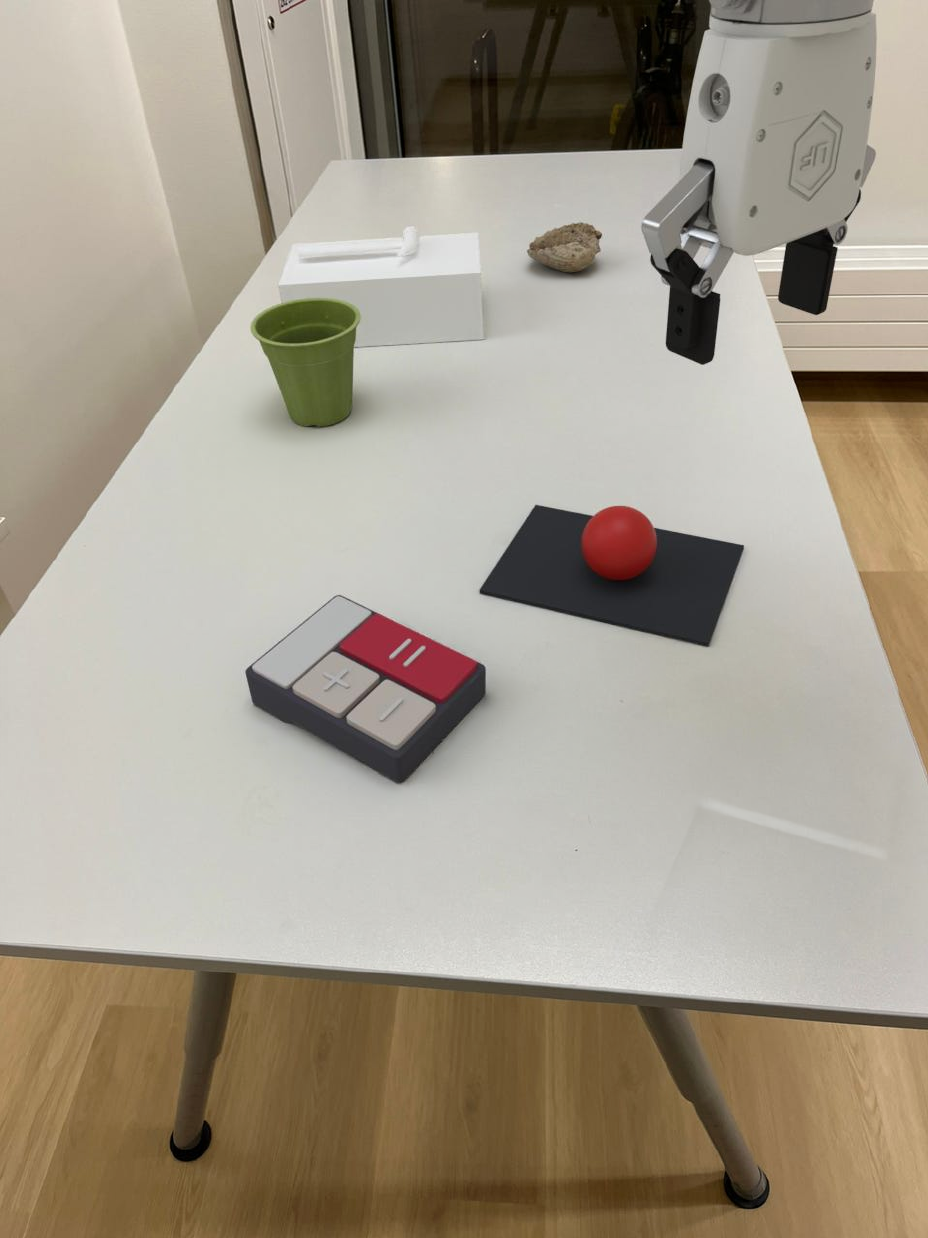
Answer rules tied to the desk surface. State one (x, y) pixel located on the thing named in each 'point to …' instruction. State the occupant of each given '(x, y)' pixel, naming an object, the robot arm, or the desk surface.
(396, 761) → the calculator
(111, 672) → the desk surface
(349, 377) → the plant pot
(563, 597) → the side mat
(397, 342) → the tissue box
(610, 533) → the red ball
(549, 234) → the tan rough lump
